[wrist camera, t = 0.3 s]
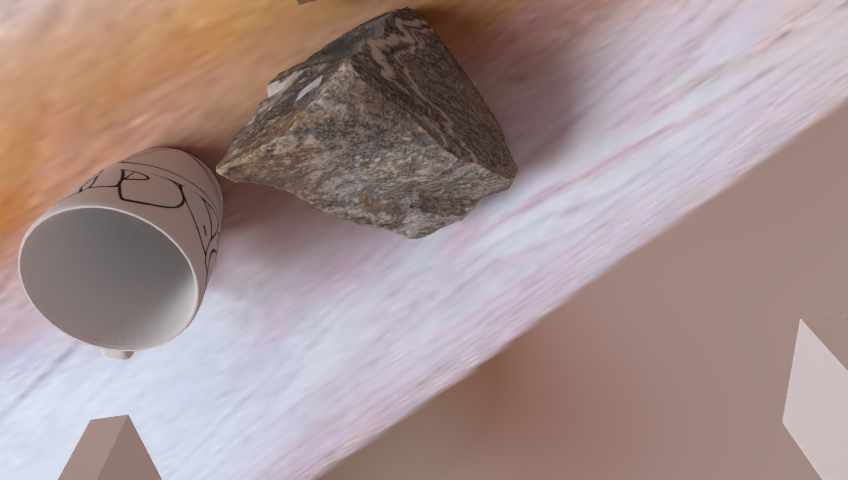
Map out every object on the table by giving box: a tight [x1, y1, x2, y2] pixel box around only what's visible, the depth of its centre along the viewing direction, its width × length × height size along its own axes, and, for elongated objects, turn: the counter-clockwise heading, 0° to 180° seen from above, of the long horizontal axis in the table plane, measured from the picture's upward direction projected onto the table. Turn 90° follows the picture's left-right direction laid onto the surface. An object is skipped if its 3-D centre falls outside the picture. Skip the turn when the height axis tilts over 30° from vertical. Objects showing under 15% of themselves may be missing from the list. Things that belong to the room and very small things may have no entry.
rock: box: [216, 7, 517, 239], centre depth 33 cm, size 12×8×15 cm, turn 32°
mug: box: [18, 147, 223, 360], centre depth 36 cm, size 11×8×10 cm
